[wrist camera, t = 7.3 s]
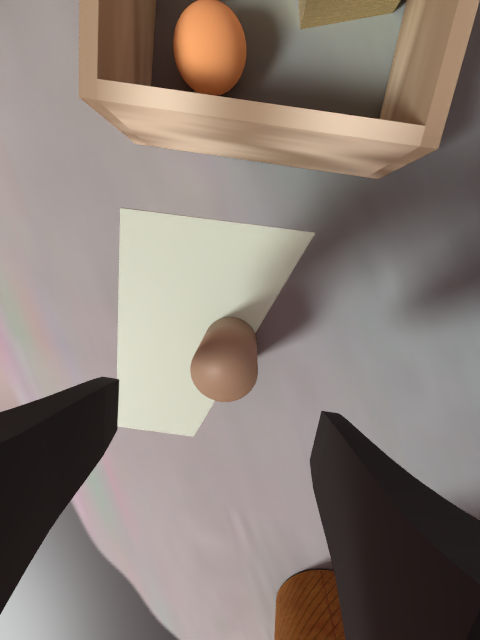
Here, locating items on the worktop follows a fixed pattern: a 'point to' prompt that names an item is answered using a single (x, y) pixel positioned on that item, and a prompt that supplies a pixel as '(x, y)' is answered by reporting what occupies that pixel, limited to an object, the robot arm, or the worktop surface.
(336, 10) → the brass cube
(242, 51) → the orange ball
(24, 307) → the worktop surface
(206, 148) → the box
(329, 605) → the disposable coffee cup
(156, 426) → the lid
